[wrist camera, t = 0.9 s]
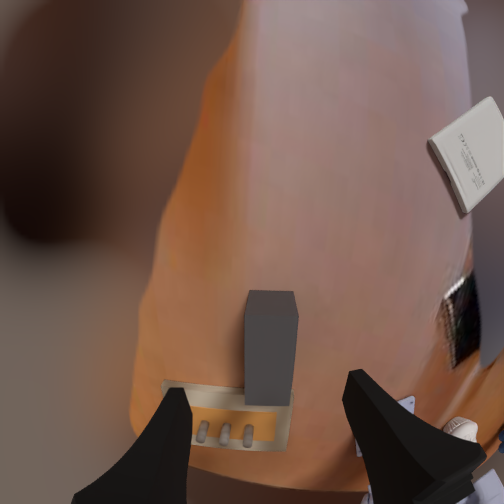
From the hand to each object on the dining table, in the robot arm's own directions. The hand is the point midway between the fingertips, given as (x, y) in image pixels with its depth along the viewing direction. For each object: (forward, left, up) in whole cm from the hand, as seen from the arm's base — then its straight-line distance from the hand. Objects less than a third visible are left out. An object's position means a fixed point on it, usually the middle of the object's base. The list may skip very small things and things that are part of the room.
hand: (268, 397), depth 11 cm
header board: (-14, +9, -14) cm, 22 cm away
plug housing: (-4, +1, -14) cm, 14 cm away
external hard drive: (+8, -25, -15) cm, 30 cm away
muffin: (-30, -21, -14) cm, 40 cm away
